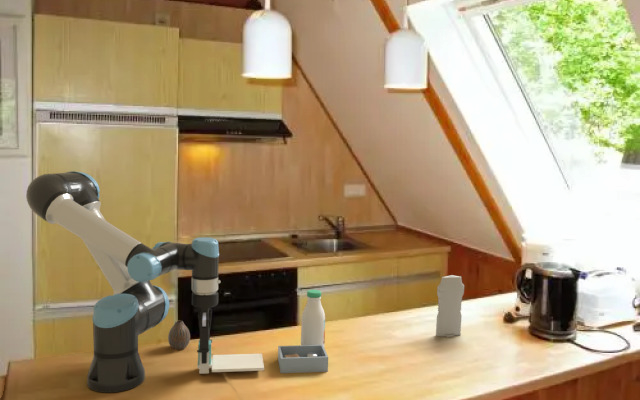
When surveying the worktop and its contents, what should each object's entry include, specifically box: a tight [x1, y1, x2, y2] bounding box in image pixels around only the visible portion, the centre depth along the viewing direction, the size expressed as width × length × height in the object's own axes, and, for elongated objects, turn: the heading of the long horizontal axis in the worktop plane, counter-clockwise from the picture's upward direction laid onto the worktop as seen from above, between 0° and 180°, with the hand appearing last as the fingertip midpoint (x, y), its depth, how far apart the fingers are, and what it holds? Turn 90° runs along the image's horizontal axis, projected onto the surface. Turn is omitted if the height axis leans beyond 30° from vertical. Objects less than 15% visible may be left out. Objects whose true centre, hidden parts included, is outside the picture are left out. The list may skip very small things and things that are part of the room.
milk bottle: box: [300, 289, 326, 347], centre depth 184 cm, size 8×8×20 cm
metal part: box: [307, 353, 318, 357], centre depth 173 cm, size 3×3×3 cm
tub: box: [277, 344, 329, 374], centre depth 171 cm, size 14×10×5 cm
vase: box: [167, 320, 191, 351], centre depth 184 cm, size 7×7×9 cm
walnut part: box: [284, 354, 300, 358], centre depth 171 cm, size 4×4×3 cm
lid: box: [196, 339, 265, 373], centre depth 167 cm, size 19×11×7 cm, turn 99°
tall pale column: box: [435, 274, 465, 338], centre depth 203 cm, size 11×4×22 cm, turn 105°
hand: (204, 368), depth 166 cm, fingers closed on lid, 5 cm apart
